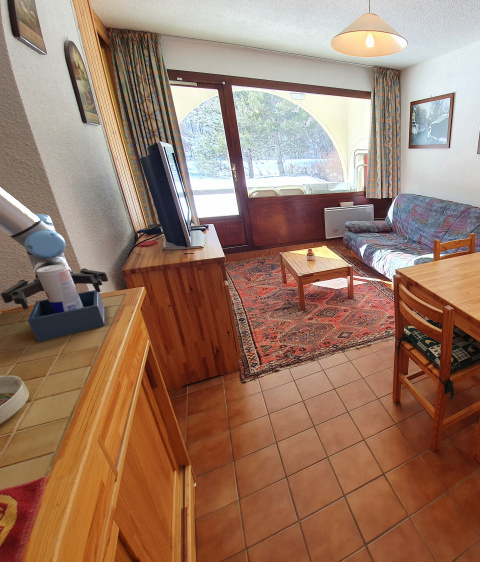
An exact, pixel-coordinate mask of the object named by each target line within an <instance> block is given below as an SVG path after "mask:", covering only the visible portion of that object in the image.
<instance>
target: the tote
mask: <svg viewBox="0 0 480 562" xmlns="http://www.w3.org/2000/svg"><path fill="white" fill-rule="evenodd" d="M78 295H79V297H80V300H81V302H82V305H83V307H84V308H79V309H74V310H69V311H65V312H60V313H55V314H54V311H53V309H52V307H51V304H50V302H49V300H48V298H47V299H40V300H36V301H35V302H34V305H33V307H32V308H31V312H30V314H29V315H28V318H27V322H28V324H29V327H30V328H31V331H32V332H33V335H34V337H35V339H36V342H38V343H39V342H43V341H47V340H51V339H56V338H59V337H65V336H68V335H71V334H76V333H79V332H84V331H88V330H93V329H96V328H100V327H105V326H106V324H105V323H106V321H105V319H106V318H105V316H106V315H105V314H106V313H105V312H106V311H105V310H106V309H105V305H104V302H103V299H102V297H101V294H100V292H97V291H96V290H95V289H94V290H89V291H82V292H78Z"/></svg>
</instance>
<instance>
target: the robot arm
mask: <svg viewBox="0 0 480 562" xmlns="http://www.w3.org/2000/svg"><path fill="white" fill-rule="evenodd" d="M0 231H2V232H3V233H4V234H6V235H7V236H9V237H10V238H11V239H13V241H15V242H17V243H18V244H20V245H21V246H22V247H23V248H25V251H26V254H27V256H28V259H29V261H30V264H31V266H32V269H33V272H34V273H33V274H34V276H35V278H34V279H33V280H31V281H28V280H26V279H20V280H18V281H17V283H15V284H14V285H11V286H10V287H9V288H7V289H5V290H4V291H2V292H1V293H0V298H2V301H3V303H4V304H9V303H12V302H13V303H14V304H15V305H21V307H22V309H23V311H24V310H25V311H26V310H29V303H28V300H27V299H28V298H29V297H32V296H34V295H35V294H38V293H40V292H45V291H44V289H43V286H42V284H41V282H40V280H39V277H38V275H37V272H36V271H37V270H38V269H40V268H43V267H46V266H51V265H60V264H63V265H66V266H67V268H68V269H69V272H70V274H71V277H72V279H73V282H74V284H75V285H77V284H79V285H80V284H81V285H82V284H83V285H92V287H93V289H94V290H96V291H97V292H99V293H101V292H102V291H101V288H100V286H103V285H104V284H103V283H105V282H109V278H108V274H107V272H106V271H105V272H104V271H99V270H92V269H87V268H83V267H82V268H81V269H80V270H79V272H75V271H72V269H71V267H70V266H69V264H68V261H67V258H66V256H65V254H64V251H65V250H66V245H67V244H66V240H65V238H64V236H62V235H61V234H60V233H58V231H56V228H55V225H54V223H53V221H52V219H51V217H50V215H48V214H44V213H33V212H32V211H30V210H29V209H28V208H27V207H26V206H24V205H23V204H22V203H21V202H20V201H18V200H17V199H16V198H15V197H13V196H12V195H11V194H9V192H7V191H5V190H4V189H3V188H2V187H0Z"/></svg>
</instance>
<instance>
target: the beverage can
mask: <svg viewBox="0 0 480 562" xmlns="http://www.w3.org/2000/svg"><path fill="white" fill-rule="evenodd" d="M36 272H37V275H38V277H39V280H40V282H41V284H42V286H43V289H44V291H43V292H44V293H45V296H46V297H47V299H48V300H49V302H50V304H51V307H52V309H53V311H54V314H55V313H60V312H65V311H69V310H74V309H79V308H84V307H83V305H82V302H81V300H80V297H79V295H78V293H79V292H78V289H77V287H76V284H74V282H73V279H72V277H71V274H70V272H69V269H68V268H67V266H66V265H63V264H60V265H51V266H46V267H43V268H40V269H38V270H37V271H36Z"/></svg>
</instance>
